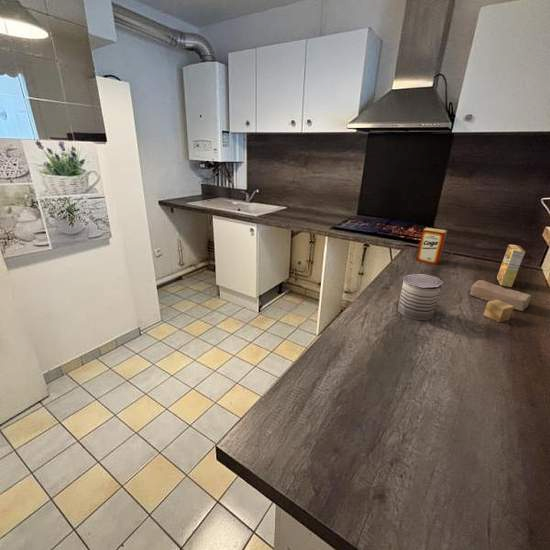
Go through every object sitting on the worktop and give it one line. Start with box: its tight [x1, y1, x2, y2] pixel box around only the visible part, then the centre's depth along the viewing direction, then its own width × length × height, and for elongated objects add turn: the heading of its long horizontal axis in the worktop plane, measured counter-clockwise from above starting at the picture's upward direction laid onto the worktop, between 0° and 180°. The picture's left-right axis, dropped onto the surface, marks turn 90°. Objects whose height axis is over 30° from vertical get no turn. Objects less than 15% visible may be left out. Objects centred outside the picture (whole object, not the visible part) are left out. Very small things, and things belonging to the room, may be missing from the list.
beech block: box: [483, 300, 514, 323], centre depth 94 cm, size 5×5×5 cm
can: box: [397, 273, 445, 321], centre depth 95 cm, size 11×11×12 cm
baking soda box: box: [415, 227, 448, 266], centre depth 142 cm, size 10×6×16 cm
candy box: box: [496, 244, 526, 288], centre depth 119 cm, size 9×4×15 cm, turn 153°
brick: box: [469, 279, 532, 312], centre depth 106 cm, size 17×8×5 cm, turn 41°
